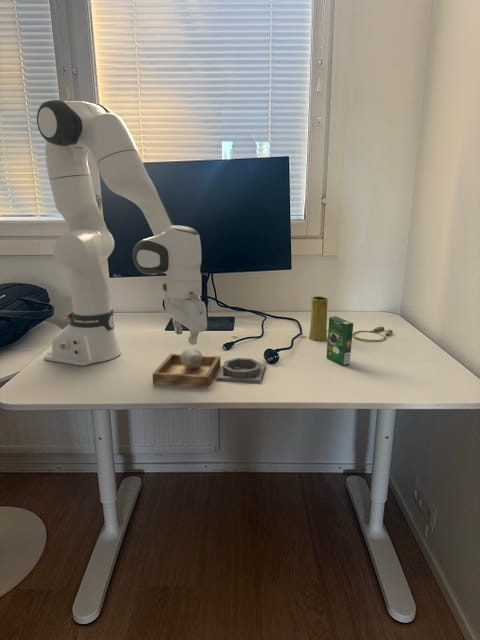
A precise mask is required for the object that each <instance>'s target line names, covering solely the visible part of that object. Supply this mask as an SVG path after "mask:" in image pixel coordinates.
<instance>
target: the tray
mask: <svg viewBox="0 0 480 640" xmlns="http://www.w3.org/2000/svg"><path fill="white" fill-rule="evenodd" d="M181 354H182V353H170V354H169V355H168V356H167V357H166V358H165V359H164V360H163V362H161V364H160V365H159V366H158V367H157V368H156V369H155V370H154V372H152V384H153V385H161V386H176V387H187V388H188V387H189V388H190V387H191V388H204V389H208V388H209V387H210V386H211V384H212V382H213V381H212V380H214V379H215V377H216V376H217V373H218V371H220V368H221V356H219V355H218V356H216V355H215V356H214V355H202V362H201V364H200V365H199V366H198V367H197V368H195V369H188V368H186V367H184V366H183V365H182V363H181Z"/></svg>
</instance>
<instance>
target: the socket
mask: <svg viewBox="0 0 480 640" xmlns="http://www.w3.org/2000/svg"><path fill="white" fill-rule="evenodd" d="M266 366H267V365H266V363H261V362H260V361H257V360H255V359H254V358H249V357H248V358H247V357H246V358H245V357H236V358H232V359H228V360H226V361H224V363H223V364H222V367H220V368H221V369H219V372H218V374H216V376H215V377H216V379H215V380H216V381H218V380H220V381H219V382H221V381H223V382H233V383H234V382H235V383H248V384H249V383H250V384H261V382H262V380H263V376H264V372H265V370H266ZM237 367H238V368H249V369H246V370H238V369H237Z"/></svg>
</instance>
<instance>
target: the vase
mask: <svg viewBox="0 0 480 640" xmlns="http://www.w3.org/2000/svg"><path fill="white" fill-rule="evenodd" d="M328 300H329V299H328V297H325V296H321V295H318V296H312V297H311V308H310V309H311V310H310V311H311V312H310V325H309V335H308V338H309V339H310V340H311V341H315V342H323V341H325V340H328V331H327V330H328V326H327V325H328V324H327V323H328Z"/></svg>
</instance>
